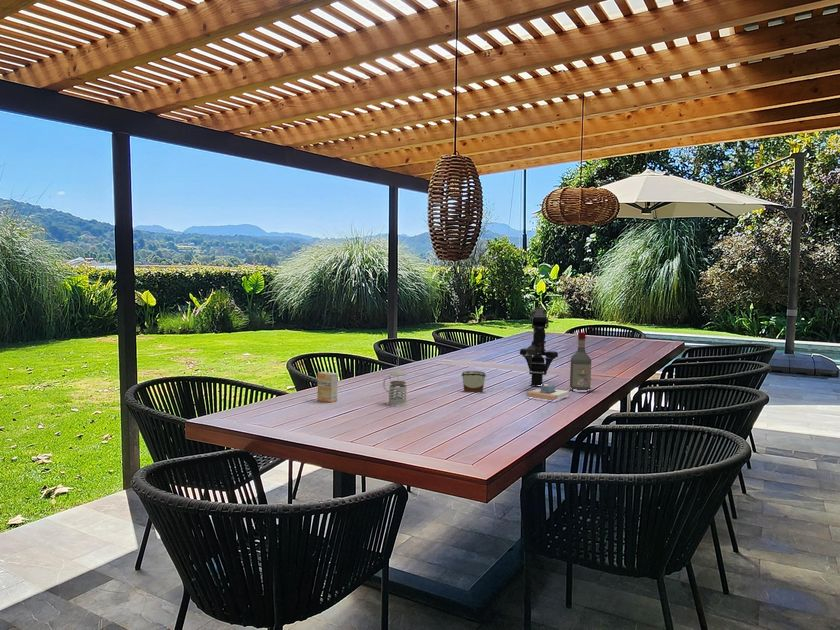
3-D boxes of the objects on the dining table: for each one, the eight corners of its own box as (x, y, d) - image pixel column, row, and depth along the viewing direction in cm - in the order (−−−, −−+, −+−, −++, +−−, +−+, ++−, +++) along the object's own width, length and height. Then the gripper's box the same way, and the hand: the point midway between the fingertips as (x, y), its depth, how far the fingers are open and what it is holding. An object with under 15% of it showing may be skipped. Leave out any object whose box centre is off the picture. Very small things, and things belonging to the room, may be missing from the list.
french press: (405, 406, 261) (406, 350, 259) (380, 404, 263) (381, 349, 261) (410, 401, 271) (411, 347, 269) (386, 400, 273) (386, 346, 271)
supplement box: (316, 400, 270) (316, 372, 269) (323, 399, 274) (323, 371, 273) (331, 403, 266) (331, 374, 265) (337, 401, 270) (337, 372, 269)
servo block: (548, 393, 288) (548, 382, 287) (555, 395, 285) (556, 383, 285) (539, 396, 281) (539, 384, 281) (546, 397, 278) (547, 385, 278)
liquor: (591, 392, 297) (593, 333, 295) (573, 392, 297) (575, 333, 295) (586, 389, 306) (588, 331, 304) (568, 389, 306) (570, 331, 304)
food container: (485, 390, 299) (486, 371, 298) (485, 393, 293) (486, 373, 292) (461, 389, 300) (461, 370, 299) (460, 392, 294) (461, 372, 293)
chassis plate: (542, 393, 294) (542, 387, 294) (568, 397, 285) (568, 391, 285) (526, 398, 282) (526, 392, 281) (553, 402, 273) (553, 396, 272)
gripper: (514, 339, 296) (513, 369, 297) (548, 342, 284) (547, 374, 285) (525, 337, 304) (524, 367, 305) (558, 340, 292) (557, 371, 294)
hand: (538, 370), depth 297 cm, fingers open, 9 cm apart
